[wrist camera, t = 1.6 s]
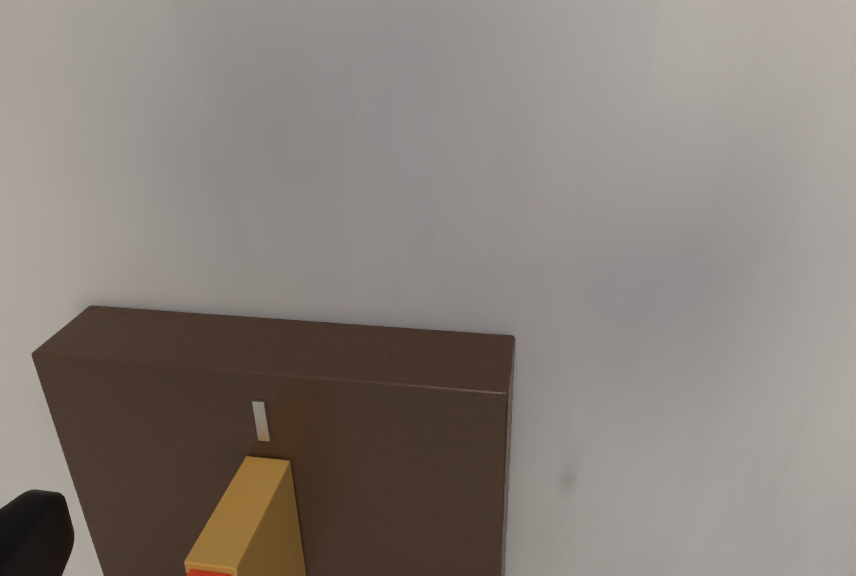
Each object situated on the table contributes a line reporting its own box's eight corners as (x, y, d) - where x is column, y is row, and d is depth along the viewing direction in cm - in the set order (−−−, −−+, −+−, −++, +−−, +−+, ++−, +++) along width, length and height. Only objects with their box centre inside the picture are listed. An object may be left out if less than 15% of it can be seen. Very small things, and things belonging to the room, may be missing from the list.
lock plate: (503, 588, 26) (497, 667, 23) (154, 544, 28) (110, 612, 26) (515, 334, 21) (508, 396, 18) (89, 304, 23) (25, 356, 21)
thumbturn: (307, 578, 23) (258, 703, 19) (266, 573, 23) (210, 696, 20) (290, 459, 21) (232, 577, 17) (245, 455, 21) (178, 569, 17)
